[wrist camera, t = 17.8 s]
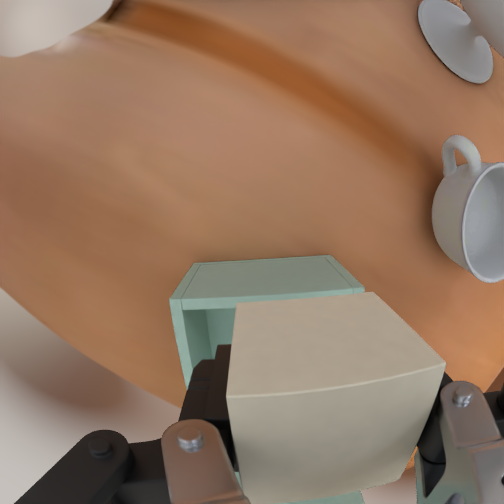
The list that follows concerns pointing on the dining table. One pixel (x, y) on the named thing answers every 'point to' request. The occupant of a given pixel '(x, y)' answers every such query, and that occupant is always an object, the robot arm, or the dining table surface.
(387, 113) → the dining table surface
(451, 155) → the teacup
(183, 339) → the sage green storage bin
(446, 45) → the chalice
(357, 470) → the block
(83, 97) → the dining table surface
